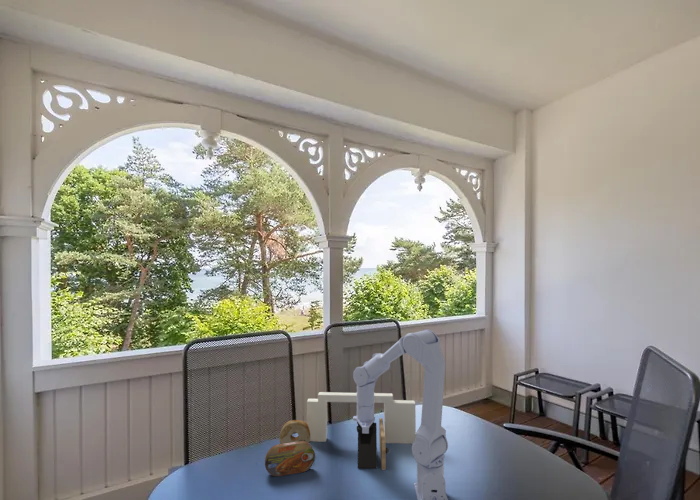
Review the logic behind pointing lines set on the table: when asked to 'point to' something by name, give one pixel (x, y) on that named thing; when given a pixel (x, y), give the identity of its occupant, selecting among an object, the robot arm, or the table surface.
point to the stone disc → (294, 427)
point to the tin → (289, 458)
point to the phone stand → (368, 451)
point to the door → (382, 444)
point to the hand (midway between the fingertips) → (365, 446)
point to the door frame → (395, 411)
